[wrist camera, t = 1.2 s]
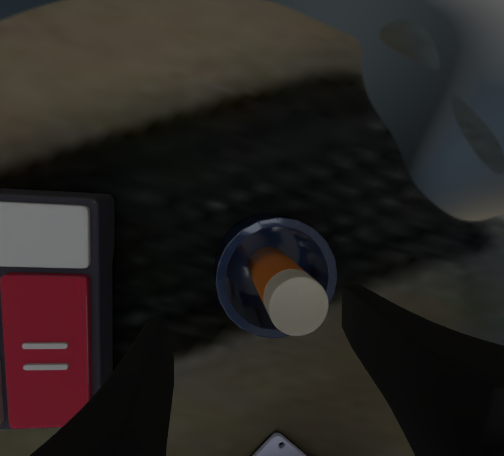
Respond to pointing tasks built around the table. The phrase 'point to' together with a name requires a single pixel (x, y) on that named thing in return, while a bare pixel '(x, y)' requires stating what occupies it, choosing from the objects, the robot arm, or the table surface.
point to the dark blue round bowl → (242, 248)
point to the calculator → (54, 304)
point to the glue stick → (287, 292)
